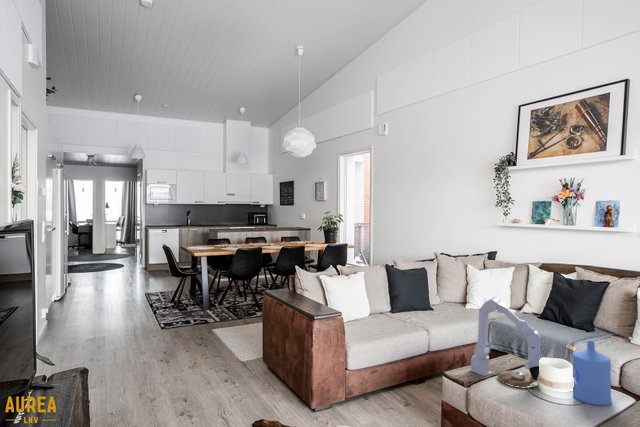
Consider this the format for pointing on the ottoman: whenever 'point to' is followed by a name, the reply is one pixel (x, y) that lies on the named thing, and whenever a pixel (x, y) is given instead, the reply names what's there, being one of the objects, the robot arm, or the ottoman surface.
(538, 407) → the ottoman surface
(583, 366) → the water jug
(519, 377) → the cover
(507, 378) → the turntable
